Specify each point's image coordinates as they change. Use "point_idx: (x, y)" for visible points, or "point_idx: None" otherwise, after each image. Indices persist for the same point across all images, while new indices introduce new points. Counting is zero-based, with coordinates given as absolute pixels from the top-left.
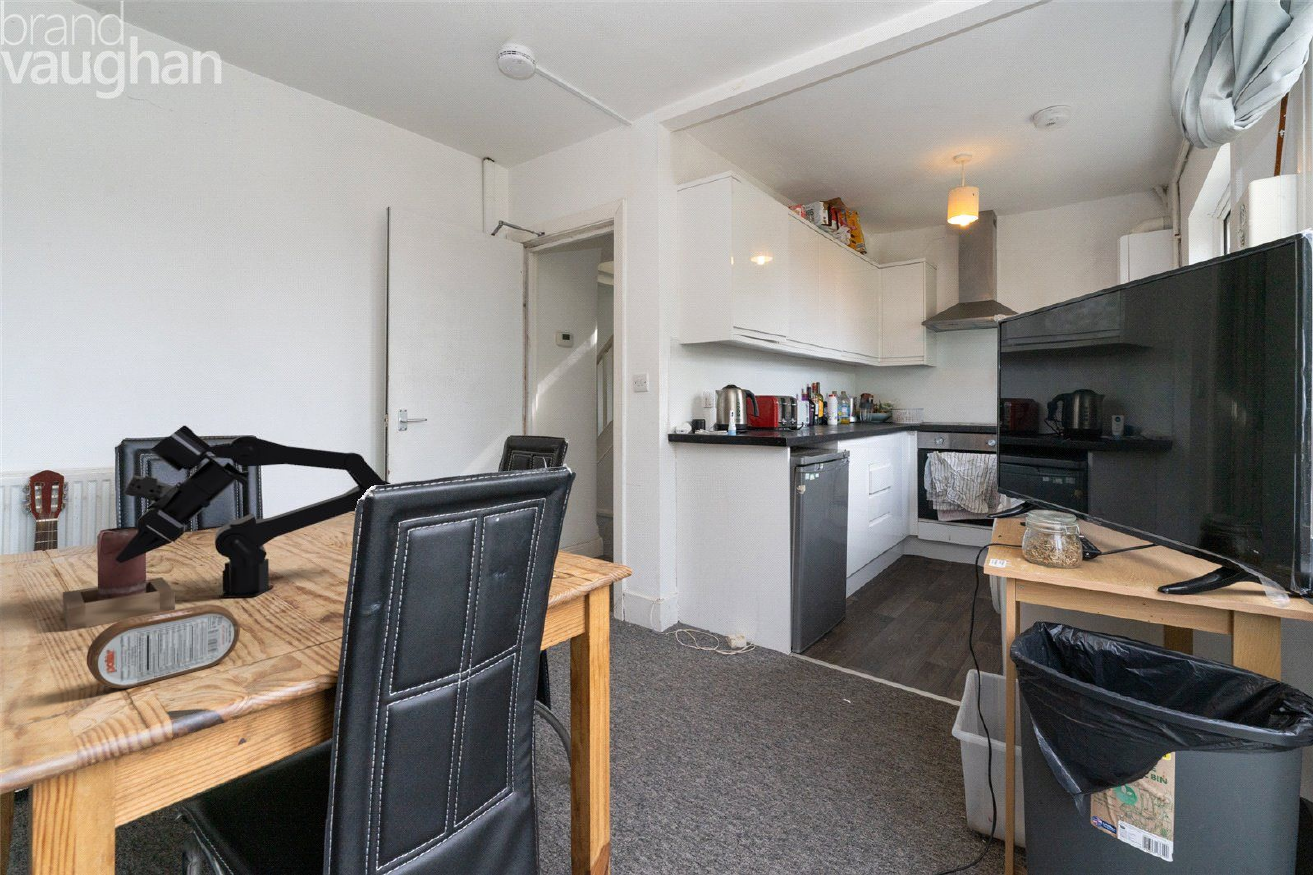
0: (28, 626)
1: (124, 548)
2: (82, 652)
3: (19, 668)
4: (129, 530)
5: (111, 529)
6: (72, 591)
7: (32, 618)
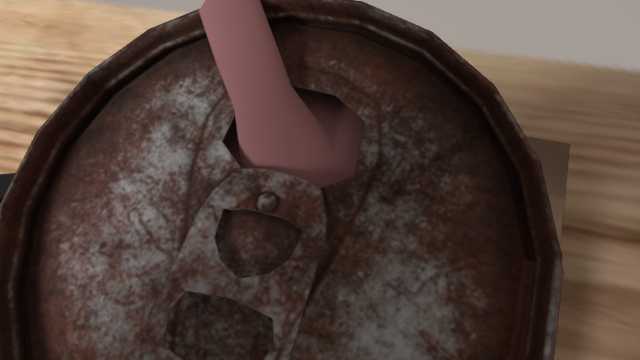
0: None
1: (2, 174)
2: (29, 97)
3: (56, 8)
4: (246, 340)
5: (532, 174)
6: (550, 170)
7: (534, 103)
